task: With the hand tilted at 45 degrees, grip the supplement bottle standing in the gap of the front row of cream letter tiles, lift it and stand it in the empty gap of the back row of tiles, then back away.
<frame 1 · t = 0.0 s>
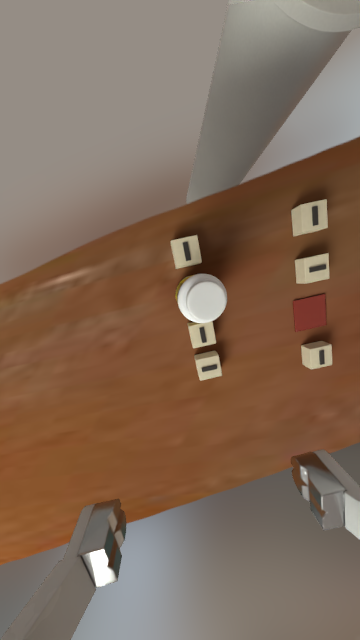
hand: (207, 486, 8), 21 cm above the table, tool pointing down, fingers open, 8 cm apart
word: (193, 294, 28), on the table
supplement bottle: (193, 294, 28), on the table
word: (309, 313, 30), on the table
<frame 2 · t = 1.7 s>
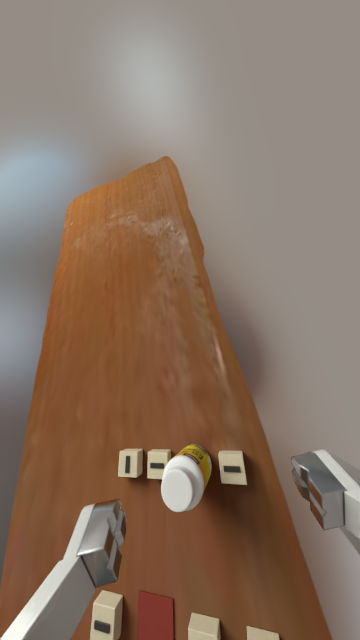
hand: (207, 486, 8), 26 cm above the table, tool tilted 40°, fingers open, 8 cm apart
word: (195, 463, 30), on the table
supplement bottle: (195, 462, 31), on the table
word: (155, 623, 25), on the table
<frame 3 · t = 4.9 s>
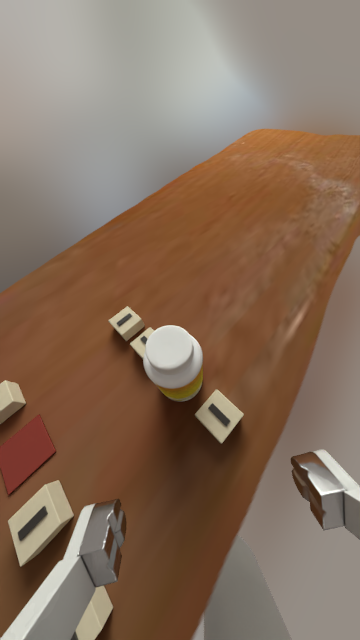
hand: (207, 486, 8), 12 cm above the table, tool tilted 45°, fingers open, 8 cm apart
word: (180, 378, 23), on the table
supplement bottle: (180, 379, 24), on the table
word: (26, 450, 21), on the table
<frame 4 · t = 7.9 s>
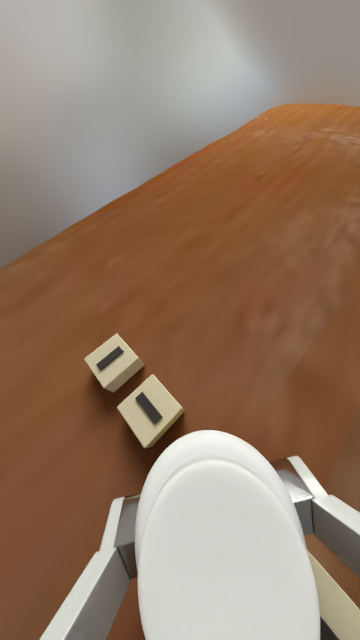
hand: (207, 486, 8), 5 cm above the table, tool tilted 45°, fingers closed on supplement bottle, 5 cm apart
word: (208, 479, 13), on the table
supplement bottle: (208, 479, 13), on the table, touching gripper
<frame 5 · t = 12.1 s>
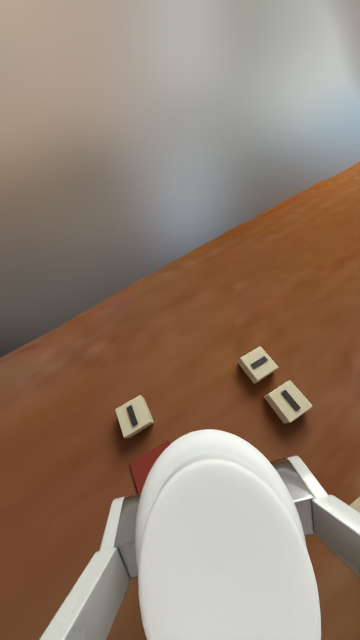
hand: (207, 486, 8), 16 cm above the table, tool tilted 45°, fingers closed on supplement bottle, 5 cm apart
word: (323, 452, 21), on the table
supplement bottle: (208, 478, 13), point 10 cm above the table, touching gripper
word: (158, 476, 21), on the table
when the fingers open (5 cm above the table, at t = 16.5 s): supplement bottle stays where it is, resting on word.
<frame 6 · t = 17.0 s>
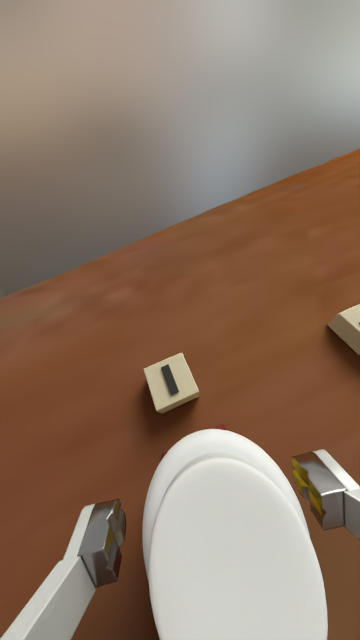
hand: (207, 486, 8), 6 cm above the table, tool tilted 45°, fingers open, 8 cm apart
supplement bottle: (211, 478, 13), resting on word
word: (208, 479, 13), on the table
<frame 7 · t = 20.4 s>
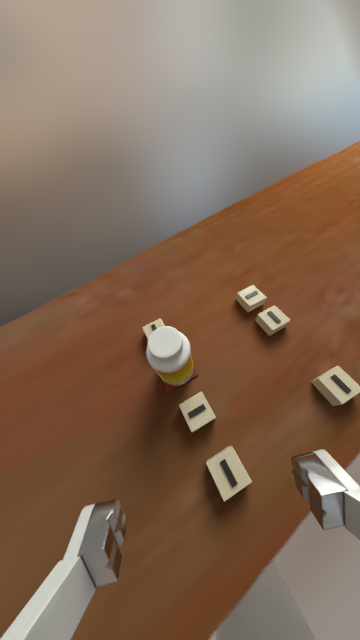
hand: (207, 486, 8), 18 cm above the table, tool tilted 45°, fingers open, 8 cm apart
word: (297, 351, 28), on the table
supplement bottle: (176, 368, 29), resting on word
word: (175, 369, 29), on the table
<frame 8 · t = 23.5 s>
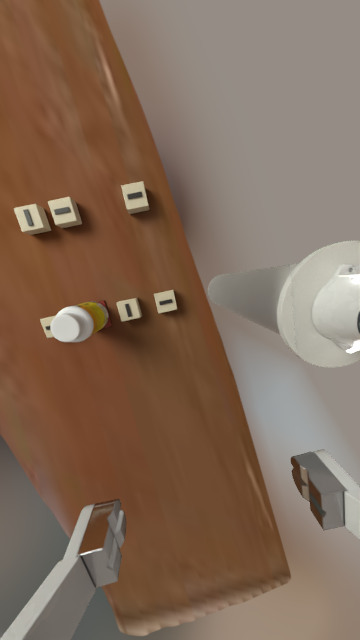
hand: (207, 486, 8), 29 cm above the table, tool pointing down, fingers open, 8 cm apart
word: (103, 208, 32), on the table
supplement bottle: (94, 315, 35), resting on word
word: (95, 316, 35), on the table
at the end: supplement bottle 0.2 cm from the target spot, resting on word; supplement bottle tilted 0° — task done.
